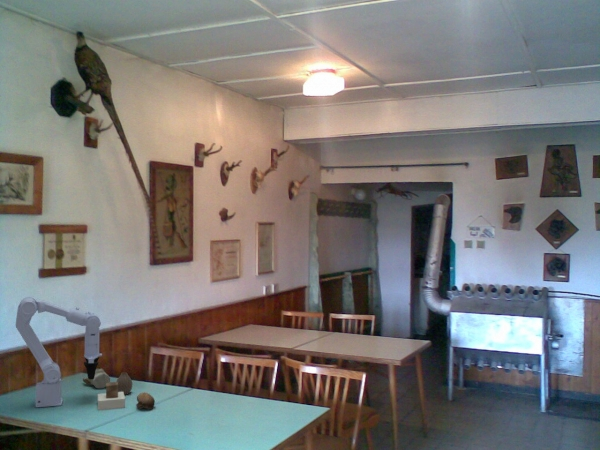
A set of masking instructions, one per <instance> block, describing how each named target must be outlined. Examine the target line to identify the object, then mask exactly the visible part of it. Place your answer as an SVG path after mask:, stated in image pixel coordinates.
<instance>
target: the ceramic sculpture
mask: <svg viewBox="0 0 600 450" xmlns="http://www.w3.org/2000/svg"><path fill="white" fill-rule="evenodd" d="M82 381H83V382H84V383H85V384H87V385H93V386H94V387H95V389H102V390H103V389H106V383H110V382H111V378H110V376H109V374H107V372H106V371H105V370H104V369H103V368H102V367H100V366H99V367H98V366H97V368H96V371H95V377H94V379H88V377H86V378H82Z"/></svg>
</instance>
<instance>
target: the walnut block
mask: <svg viewBox="0 0 600 450" xmlns="http://www.w3.org/2000/svg"><path fill="white" fill-rule="evenodd" d="M105 393H106V398H117V397H118V382H116V381H113V382H111V381H110V383H106V387H105Z"/></svg>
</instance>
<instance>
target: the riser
mask: <svg viewBox="0 0 600 450" xmlns="http://www.w3.org/2000/svg"><path fill="white" fill-rule="evenodd" d="M125 397H126V395H124V392H118V397H117V398H106V392H105V393H97V410H98V411H104V410H115V409H125V408H126V398H125Z"/></svg>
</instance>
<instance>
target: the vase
mask: <svg viewBox="0 0 600 450" xmlns="http://www.w3.org/2000/svg"><path fill="white" fill-rule="evenodd" d="M115 382H118V392H124V396H127V395H128V394H130V393H131V391H132V389H133V380H132V379H131V377H130V376H129V375H128V373H127V372H121V373H120V375H119V376H118V378H117V379H116V381H115Z"/></svg>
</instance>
